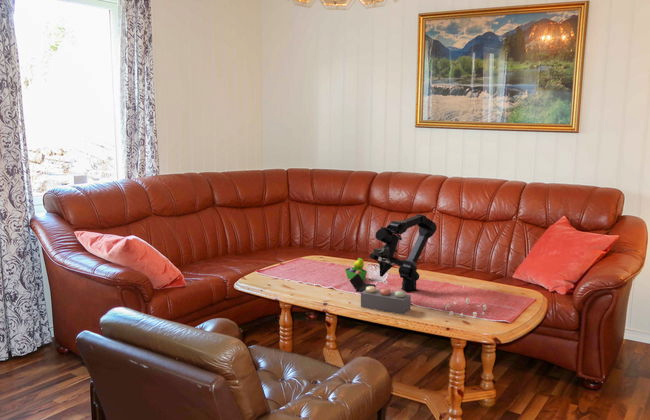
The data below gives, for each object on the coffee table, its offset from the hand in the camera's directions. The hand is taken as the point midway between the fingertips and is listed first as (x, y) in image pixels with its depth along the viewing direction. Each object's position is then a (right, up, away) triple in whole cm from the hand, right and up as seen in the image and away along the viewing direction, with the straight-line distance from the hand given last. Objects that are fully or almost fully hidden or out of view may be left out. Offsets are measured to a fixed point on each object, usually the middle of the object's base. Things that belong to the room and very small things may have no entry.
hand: (380, 276), depth 280 cm
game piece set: (+38, -15, -13) cm, 42 cm away
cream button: (-5, -9, -5) cm, 11 cm away
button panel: (+1, -14, -8) cm, 16 cm away
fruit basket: (-10, -6, +37) cm, 39 cm away
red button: (+1, -9, -9) cm, 13 cm away
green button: (+8, -10, -12) cm, 18 cm away
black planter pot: (-7, -9, +21) cm, 24 cm away
